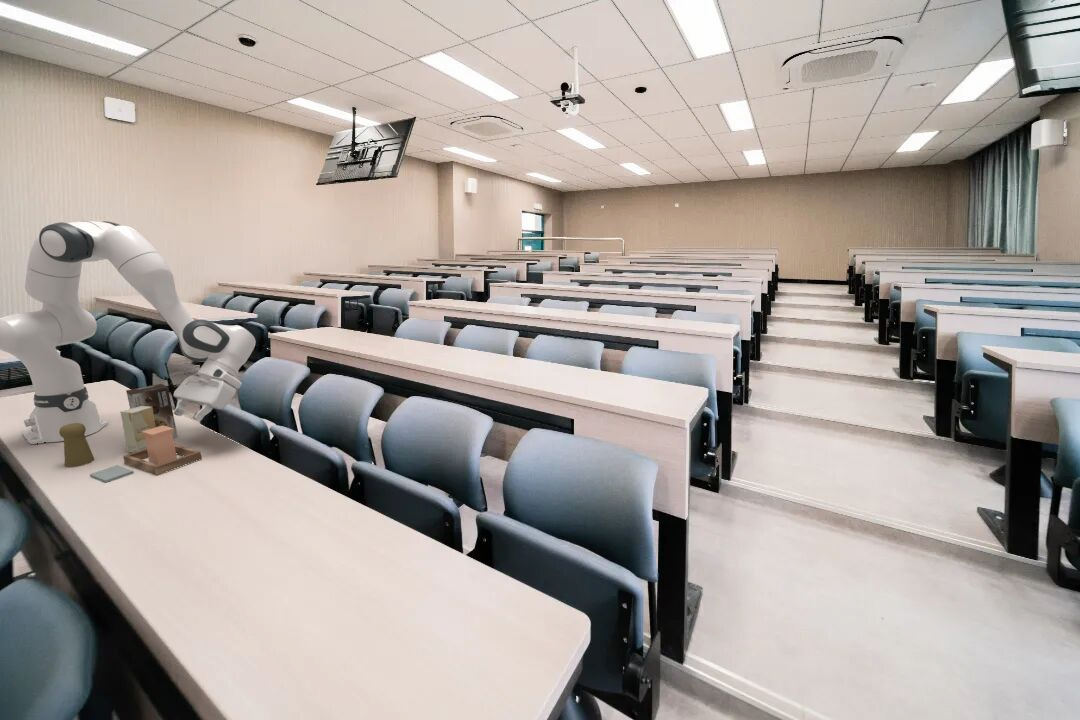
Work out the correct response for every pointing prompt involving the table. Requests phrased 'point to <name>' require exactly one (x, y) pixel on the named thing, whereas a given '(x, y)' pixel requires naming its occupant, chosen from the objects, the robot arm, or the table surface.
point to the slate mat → (111, 473)
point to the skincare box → (137, 426)
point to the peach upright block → (160, 444)
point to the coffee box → (154, 403)
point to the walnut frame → (188, 457)
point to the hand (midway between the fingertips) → (186, 417)
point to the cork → (75, 445)
